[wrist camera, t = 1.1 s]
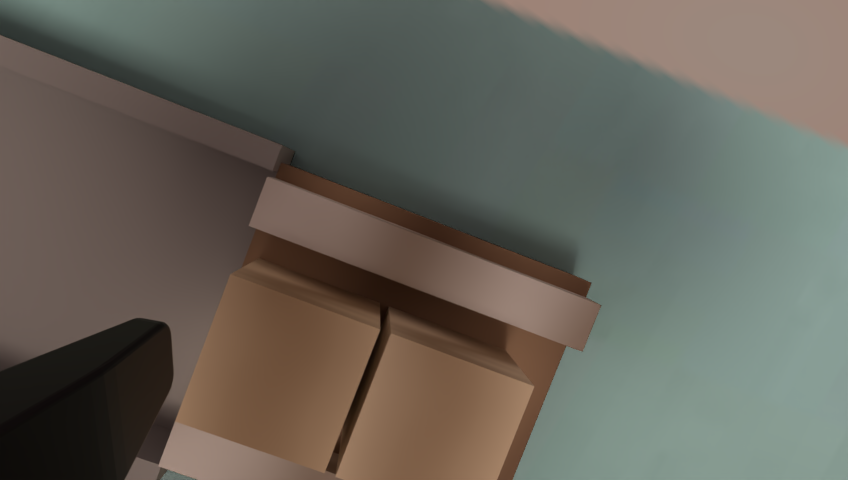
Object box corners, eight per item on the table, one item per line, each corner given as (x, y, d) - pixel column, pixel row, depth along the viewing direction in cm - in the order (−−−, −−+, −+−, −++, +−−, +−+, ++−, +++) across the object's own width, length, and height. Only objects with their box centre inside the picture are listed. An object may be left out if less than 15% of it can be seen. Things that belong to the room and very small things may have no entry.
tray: (295, 151, 22) (282, 145, 19) (181, 451, 23) (152, 490, 20) (-139, -18, 21) (-224, -53, 18) (-249, 303, 22) (-350, 321, 19)
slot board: (573, 275, 23) (607, 289, 20) (469, 534, 24) (484, 593, 20) (289, 165, 22) (273, 160, 19) (186, 437, 23) (152, 482, 19)
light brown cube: (380, 303, 21) (380, 329, 17) (334, 420, 21) (324, 473, 17) (259, 258, 21) (230, 274, 17) (213, 377, 21) (175, 421, 17)
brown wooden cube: (505, 349, 21) (534, 386, 17) (459, 464, 22) (478, 526, 18) (388, 306, 21) (391, 333, 17) (343, 423, 21) (335, 476, 17)
